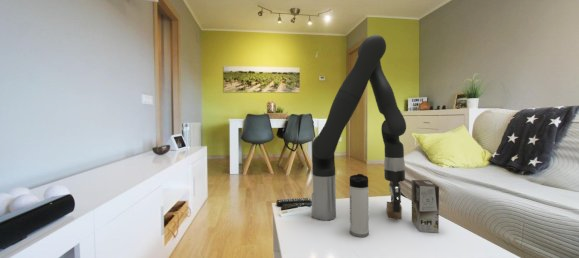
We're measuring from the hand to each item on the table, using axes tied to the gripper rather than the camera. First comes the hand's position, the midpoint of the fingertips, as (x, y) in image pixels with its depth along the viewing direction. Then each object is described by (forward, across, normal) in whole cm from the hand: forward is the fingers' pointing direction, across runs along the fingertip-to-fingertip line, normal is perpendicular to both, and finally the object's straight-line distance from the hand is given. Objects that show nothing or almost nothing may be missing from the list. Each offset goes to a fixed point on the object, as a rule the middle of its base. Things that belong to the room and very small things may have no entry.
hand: (395, 207), depth 94 cm
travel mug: (+3, +18, -14) cm, 23 cm away
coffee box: (+4, +7, +9) cm, 12 cm away
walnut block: (+4, 0, -1) cm, 4 cm away
